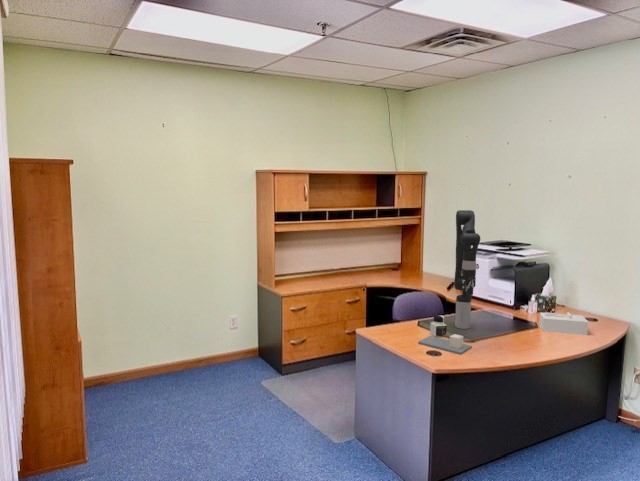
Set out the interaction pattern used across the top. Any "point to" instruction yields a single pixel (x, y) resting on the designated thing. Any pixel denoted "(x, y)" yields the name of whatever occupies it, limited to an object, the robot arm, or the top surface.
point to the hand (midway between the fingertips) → (467, 296)
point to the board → (443, 345)
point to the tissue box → (563, 323)
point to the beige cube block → (456, 341)
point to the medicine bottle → (438, 326)
